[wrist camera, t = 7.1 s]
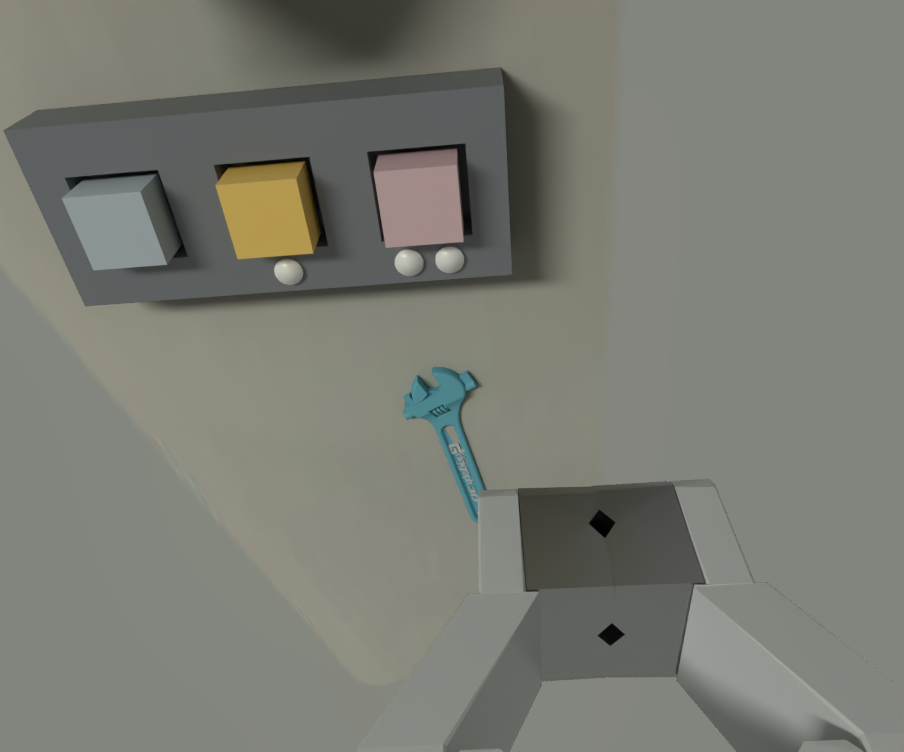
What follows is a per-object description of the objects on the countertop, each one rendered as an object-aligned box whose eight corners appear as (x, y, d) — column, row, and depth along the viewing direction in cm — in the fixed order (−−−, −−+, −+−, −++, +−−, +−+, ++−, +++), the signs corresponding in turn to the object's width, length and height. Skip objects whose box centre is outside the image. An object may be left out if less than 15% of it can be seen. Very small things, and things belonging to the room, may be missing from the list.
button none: (111, 249, 35) (93, 270, 33) (83, 179, 33) (61, 198, 31) (182, 243, 35) (167, 264, 33) (157, 173, 33) (140, 191, 31)
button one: (249, 238, 35) (237, 259, 33) (228, 167, 33) (215, 185, 31) (321, 232, 34) (313, 253, 33) (305, 160, 32) (296, 178, 31)
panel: (108, 277, 39) (83, 308, 36) (36, 110, 33) (0, 132, 31) (508, 247, 37) (512, 276, 35) (500, 67, 32) (503, 86, 29)
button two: (389, 227, 34) (385, 247, 32) (378, 154, 32) (373, 171, 30) (463, 221, 34) (463, 241, 32) (457, 147, 32) (456, 165, 30)
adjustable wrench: (388, 384, 42) (469, 365, 41) (389, 374, 43) (469, 355, 42) (452, 534, 50) (521, 521, 49) (452, 524, 51) (520, 511, 50)
